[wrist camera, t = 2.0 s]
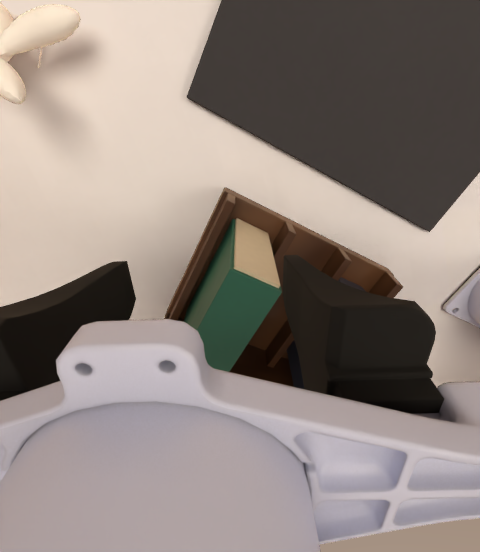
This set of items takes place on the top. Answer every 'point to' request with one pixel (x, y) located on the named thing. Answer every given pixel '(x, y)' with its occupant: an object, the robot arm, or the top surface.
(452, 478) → the robot arm
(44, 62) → the top surface
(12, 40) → the rabbit figurine
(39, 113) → the top surface
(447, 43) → the felt mat
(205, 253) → the book rack
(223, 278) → the green book
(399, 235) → the top surface
